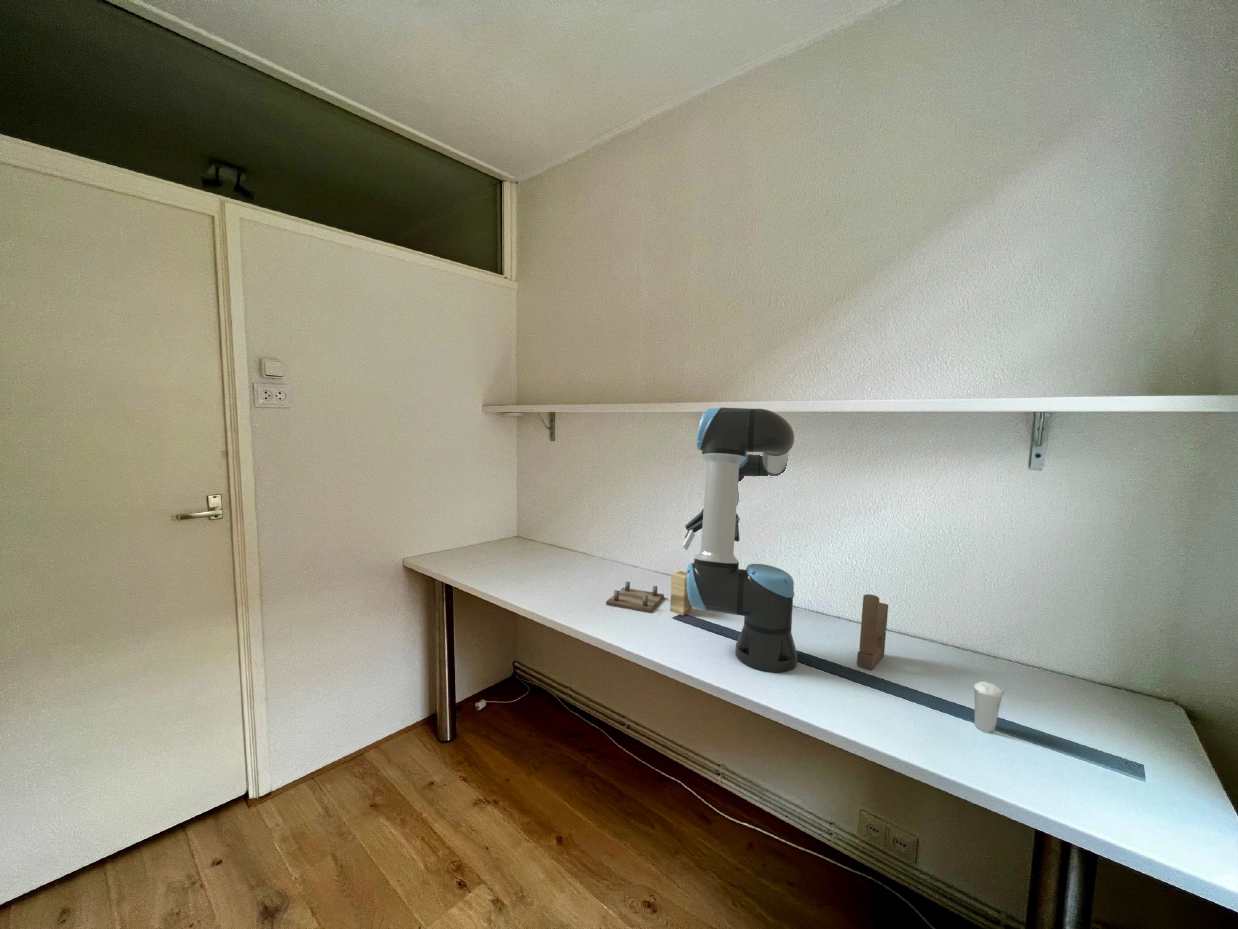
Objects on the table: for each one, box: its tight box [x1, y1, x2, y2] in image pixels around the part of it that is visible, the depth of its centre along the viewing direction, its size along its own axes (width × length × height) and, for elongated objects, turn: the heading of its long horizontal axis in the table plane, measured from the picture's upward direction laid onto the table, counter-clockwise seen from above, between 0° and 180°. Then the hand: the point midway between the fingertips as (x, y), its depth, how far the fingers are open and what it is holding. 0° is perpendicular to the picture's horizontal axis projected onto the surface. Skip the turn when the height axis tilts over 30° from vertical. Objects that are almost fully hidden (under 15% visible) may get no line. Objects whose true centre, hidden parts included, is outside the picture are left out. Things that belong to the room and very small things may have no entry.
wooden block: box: [856, 594, 889, 671], centre depth 125 cm, size 4×11×18 cm, turn 137°
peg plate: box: [605, 581, 665, 614], centre depth 163 cm, size 15×15×4 cm
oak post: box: [669, 570, 693, 616], centre depth 155 cm, size 5×5×12 cm
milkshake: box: [973, 681, 1008, 734], centre depth 98 cm, size 5×5×10 cm
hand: (701, 551), depth 163 cm, fingers open, 13 cm apart
